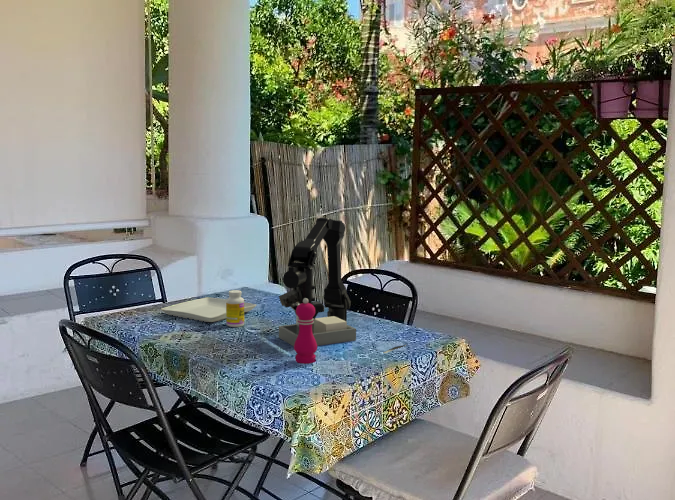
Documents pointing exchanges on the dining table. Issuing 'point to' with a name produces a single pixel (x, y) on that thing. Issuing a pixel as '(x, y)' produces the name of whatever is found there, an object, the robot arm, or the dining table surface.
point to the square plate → (203, 309)
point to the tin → (297, 325)
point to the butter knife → (394, 348)
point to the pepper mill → (305, 334)
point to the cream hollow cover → (329, 324)
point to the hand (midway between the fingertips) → (304, 328)
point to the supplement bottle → (235, 309)
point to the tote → (318, 335)
